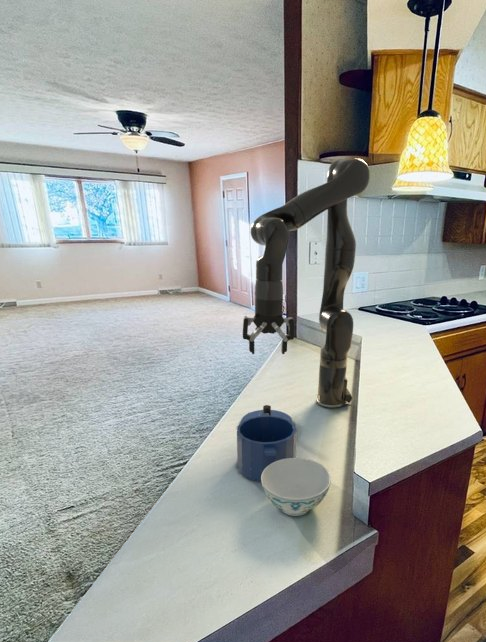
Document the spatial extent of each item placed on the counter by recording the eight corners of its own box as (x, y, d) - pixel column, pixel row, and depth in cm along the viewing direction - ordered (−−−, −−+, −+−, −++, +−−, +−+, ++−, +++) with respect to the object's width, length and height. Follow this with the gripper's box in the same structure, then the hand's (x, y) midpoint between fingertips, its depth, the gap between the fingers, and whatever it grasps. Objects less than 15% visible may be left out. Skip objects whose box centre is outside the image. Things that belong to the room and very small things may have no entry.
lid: (289, 411, 134) (289, 395, 132) (295, 435, 120) (296, 417, 118) (240, 413, 131) (240, 396, 129) (241, 438, 117) (240, 419, 115)
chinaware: (254, 491, 95) (254, 463, 92) (315, 480, 100) (316, 453, 97) (270, 536, 82) (270, 504, 79) (339, 521, 87) (342, 491, 84)
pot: (289, 443, 116) (290, 409, 112) (300, 486, 98) (302, 448, 94) (237, 446, 113) (236, 411, 109) (238, 490, 95) (237, 451, 91)
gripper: (242, 298, 106) (243, 357, 112) (296, 299, 109) (294, 357, 115) (241, 293, 113) (242, 349, 119) (293, 294, 116) (291, 349, 122)
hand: (268, 353), depth 117 cm, fingers open, 8 cm apart
